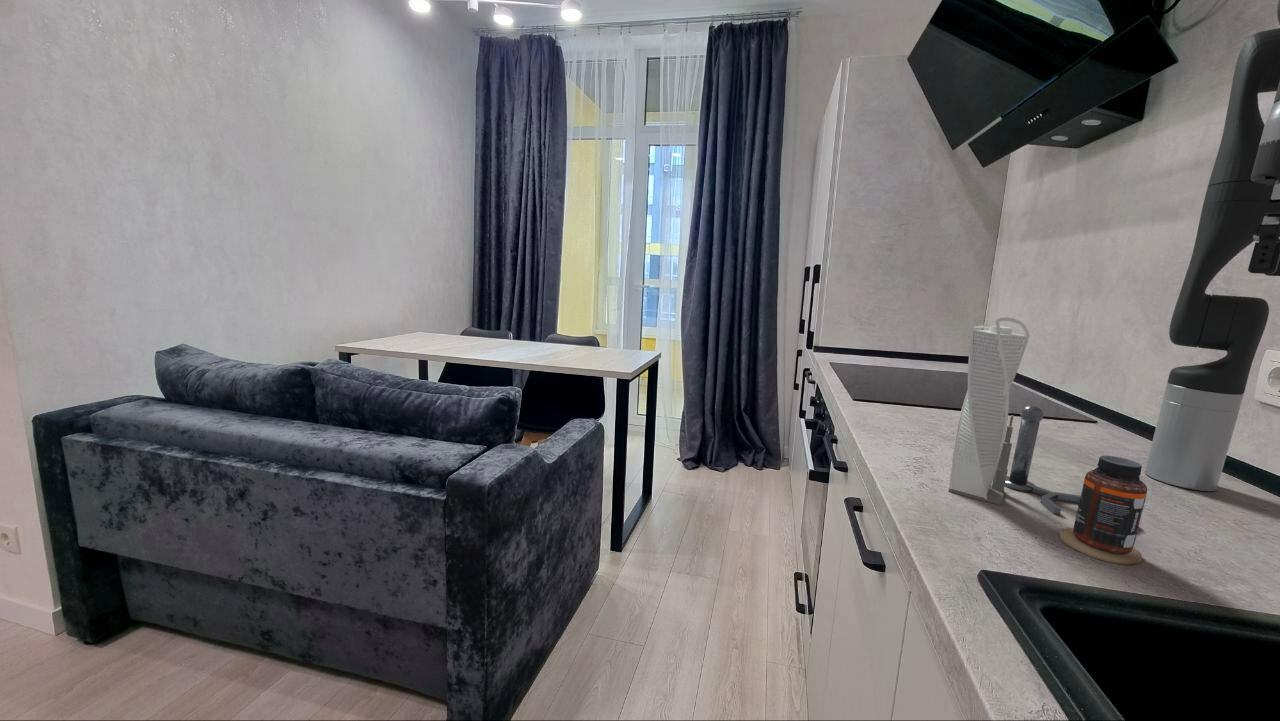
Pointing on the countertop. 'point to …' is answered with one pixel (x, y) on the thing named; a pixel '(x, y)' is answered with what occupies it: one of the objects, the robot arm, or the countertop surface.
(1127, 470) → the supplement bottle
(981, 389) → the skyscraper
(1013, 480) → the ring holder
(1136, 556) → the coaster
